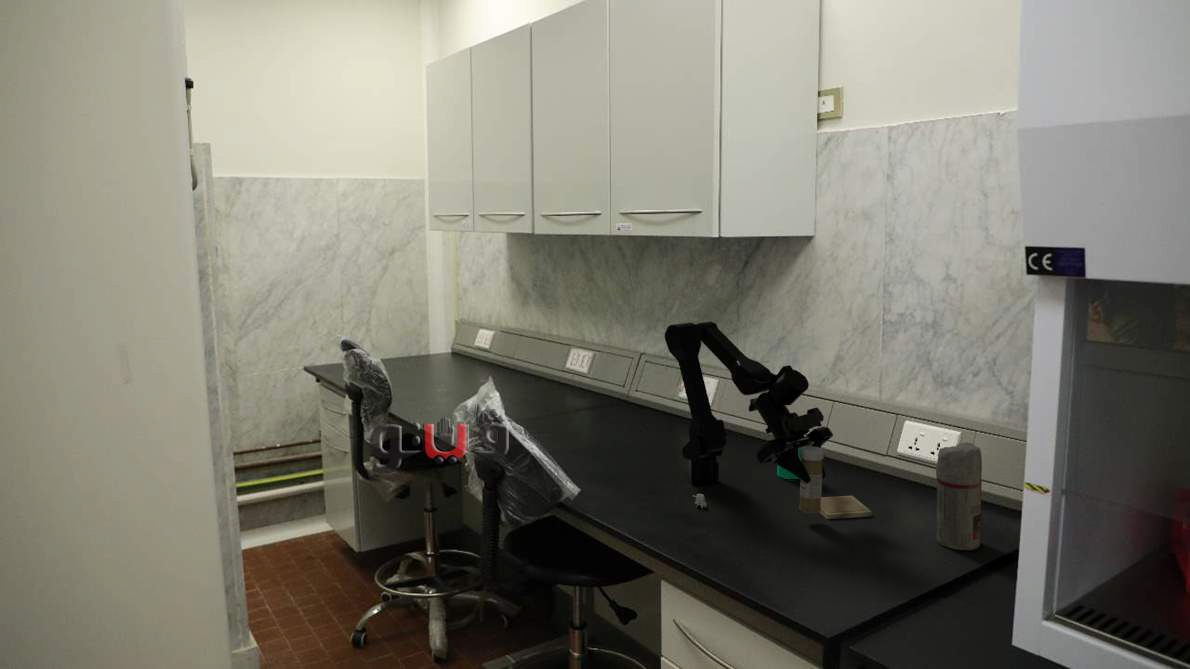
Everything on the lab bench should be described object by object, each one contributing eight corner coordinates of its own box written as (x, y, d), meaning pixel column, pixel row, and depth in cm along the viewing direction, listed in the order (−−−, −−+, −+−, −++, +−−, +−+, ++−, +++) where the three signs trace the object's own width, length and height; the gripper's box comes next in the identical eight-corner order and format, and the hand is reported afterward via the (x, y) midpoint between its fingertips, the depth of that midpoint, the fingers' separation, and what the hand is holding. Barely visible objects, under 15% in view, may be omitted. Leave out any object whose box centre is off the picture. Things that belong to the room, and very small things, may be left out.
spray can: (960, 555, 152) (966, 453, 149) (925, 540, 160) (929, 442, 156) (990, 546, 156) (996, 446, 153) (954, 532, 163) (959, 436, 160)
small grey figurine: (707, 507, 181) (707, 494, 180) (703, 511, 178) (703, 497, 178) (695, 505, 182) (694, 492, 182) (690, 509, 180) (690, 495, 179)
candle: (802, 480, 196) (803, 433, 194) (777, 479, 197) (778, 432, 195) (801, 473, 201) (802, 426, 200) (776, 471, 203) (777, 425, 201)
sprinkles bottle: (795, 506, 172) (797, 446, 170) (816, 505, 172) (818, 445, 170) (803, 515, 167) (805, 452, 165) (824, 513, 168) (827, 451, 165)
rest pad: (826, 519, 171) (826, 514, 171) (809, 502, 181) (809, 497, 181) (871, 516, 172) (871, 511, 172) (851, 499, 182) (851, 495, 182)
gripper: (768, 403, 164) (809, 469, 157) (827, 390, 174) (869, 451, 167) (739, 432, 171) (777, 496, 164) (797, 417, 182) (836, 477, 175)
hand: (816, 479), depth 167 cm, fingers closed on sprinkles bottle, 4 cm apart
